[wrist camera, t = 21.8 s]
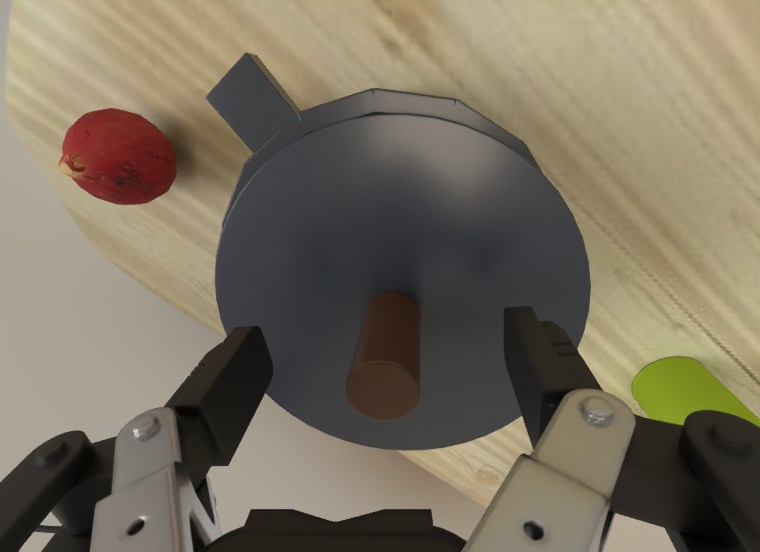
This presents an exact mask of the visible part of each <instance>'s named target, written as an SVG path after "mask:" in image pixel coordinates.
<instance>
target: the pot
mask: <svg viewBox="0 0 760 552" xmlns="http://www.w3.org/2000/svg"><path fill="white" fill-rule="evenodd" d="M206 99H207V100H208V101H209V102H210V104H211V105H212V106H213V107H214V108H215V109H216V111H217V112H218V113H219V114H220V115H221V116H222V117H223V119H224V120H225V121H226V122H227V123H228V124H229V125H230V127H231V128H232V129H233V130H234V131H235V132H236V134H237V135H238V136H239V137H240V138H241V139H242V140H243V142H244V143H245V144H246V145H247V146H248V147H249V148H250V150H251V151H252V152H253V153H254V154H253V155H252V156H251V157H250V158H249V159H248V160H247V161H246V163H244V165H243V168H242V170H241V173H240V176H239V179H238V181H237V184H236V187H235V189H234V192H233V195H232V198H231V200H230V203H229V206H228V208H227V211H226V214H225V217H224V219H223V222H222V230H223V227H224V224H225V222H226V219H227V216H228V214H229V212H230V210H231V208H232V206H233V204H234V203H235V201H236V199H237V197H238V195H239V194H240V192H241V191H242V189H243V188H244V187H245V186H246V184H247V183H248V182H249V180H250V179H251V178H252V176H253V175H254V174H255V173H256V172H257V171H258V170H259V169H260V168H261V167H262V166H263V165H264V164H265V163H266V162H267V161H268V160H269V159H270V158H271V157H272V156H274V155H275V154H276V153H278V152H279V151H281V150H282V149H283V148H285V147H286V146H288V145H289V144H291V143H292V142H293V141H295V140H297V139H299V138H301V137H303V136H305V135H307V134H309V133H311V132H313V131H315V130H317V129H319V128H321V127H324V126H327V125H330V124H333V123H336V122H339V121H342V120H345V119H349V118H355V117H361V116H367V115H373V114H390V113H410V114H418V115H427V116H435V117H440V118H443V119H447V120H451V121H455V122H458V123H462V124H466V125H468V126H470V127H473V128H475V129H477V130H480V131H482V132H484V133H487V134H489V135H491V136H493V137H495V138H497V139H498V140H500V141H502V142H503V143H505V144H506V145H508V146H510V147H511V148H513V149H515V150H516V151H518V152H519V153H520V154H521V155H523V156H524V157H525V158H526V159H527V160H529V161H530V162H531V163H532V164H533V165H534V166H536V167H537V168H538V169H539V170H540V171H541V169H540V167H539V166H538V164H537V162H536V161H535V159H534V157H533V156H532V154H531V152H530V151H529V149H528V147H527V145H526V144H524V142H523V141H521V140H520V139H518V138H517V137H515V136H514V135H512V134H511V133H509V132H507V131H506V130H504V129H503V128H501V127H500V126H498V125H497V124H495V123H494V122H492V121H490V120H489V119H487V118H486V117H484V116H483V115H481V114H480V113H478V112H477V111H475V110H474V109H472V108H470V107H469V106H467V105H466V104H464V103H463V102H461V101H460V100H458V99H455V98H448V97H440V96H433V95H425V94H417V93H410V92H402V91H395V90H387V89H380V88H374V89H373V88H371V89H368V90H365V91H362V92H359V93H356V94H352V95H349V96H346V97H343V98H340V99H337V100H334V101H331V102H328V103H324V104H321V105H318V106H315V107H312V108H309V109H306V110H303V111H300V109H299V108H298V107H297V106H296V104H295V103H294V102H293V100H292V99H291V98H290V97H289V95H288V94H287V93H286V92H285V90H284V89H283V88H282V87H281V85H280V84H279V83H278V81H277V80H276V79H275V78H274V76H273V75H272V74H271V73H270V71H269V70H268V69H267V68H266V66H265V65H264V64H263V62H262V61H261V60H260V59H259V57H258V56H257V55H254V54H250V53H245V54H244V55H243V56H242V57H241V58H240V59H239V60H238V62H237V63H236V64H235V65H234V66H233V67H232V68H231V69H230V70H229V72H228V73H227V74H226V75H225V76H224V77H223V78H222V79H221V80H220V82H219V83H218V84H217V85H216V86H215V87H214V88H213V89H212V90H211V91H210V93H209V94H208V95H207V96H206ZM541 172H542V171H541ZM542 173H543V172H542Z"/></svg>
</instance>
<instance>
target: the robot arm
mask: <svg viewBox="0 0 760 552" xmlns="http://www.w3.org/2000/svg"><path fill="white" fill-rule="evenodd" d="M504 358H505V364H506V368H507V371H508V374H509V377H510V380H511V383H512V387H513V390H514V393H515V396H516V399H517V402H518V405H519V408H520V411H521V414H522V417H523V420H524V423H525V426H526V429H527V432H528V435H529V438H530V441H531V444H532V447H533V452H532V453H531V455H530V456H528V455H526V454H521V455H520V456H519V457H518V459H517V460H516V461H515V463H514V465H513V466H512V468H511V470H510V471H509V473H508V475H507V476H506V478H505V480H504V481H503V483H502V485H501V486H500V488H499V490H498V491H497V493H496V495H495V496H494V498H493V500H492V501H491V503H490V505H489V506H488V508H487V510H486V511H485V513H484V515H483V516H482V518H481V520H480V522H479V523H478V525H477V526H476V528H475V530H474V531H473V533H472V535H471V536H470V538H469V540H468V541H466V540H464V539H462V538H461V537H459V536H458V535H456V534H454V533H452V532H450V531H447V530H445V529H443V528H440V527H436V526H433V520H432V513H431V509H384V510H380V511H377V512H373V513H369V514H365V515H361V516H358V517H354V518H350V519H346V520H343V521H338V522H333V521H329V520H326V519H322V518H319V517H316V516H313V515H309V514H306V513H303V512H299V511H297V510H293V509H251V510H250V513H249V515H248V518H247V520H246V523H245V525H244V526H243V527H240V528H238V529H235V530H233V531H230V532H228V533H226V534H224V535H222V534H221V530H220V525H219V520H218V515H217V511H216V506H215V501H214V496H213V492H212V487H211V482H210V479H209V477H208V475H207V473H208V471H209V469H210V467H211V466H228V465H229V463H230V461H231V459H232V457H233V455H234V454H235V452H236V449H237V448H238V445H239V444H240V442H241V440H242V438H243V435H244V434H245V432H246V430H247V428H248V426H249V424H250V422H251V420H252V418H253V416H254V414H255V412H256V410H257V408H258V406H259V404H260V402H261V400H262V398H263V396H264V394H265V392H266V390H267V388H268V386H269V384H270V382H271V380H272V377H273V362H272V359H271V356H270V353H269V350H268V347H267V344H266V341H265V338H264V336H263V333H262V330H261V328H260V327H259V326H247V327H236V328H234V329H233V330H232V331H231V332H230V334H229V335H228V336H227V337H226V339H225V340H224V342H223V343H220V344H219V345H217V346H216V347H215V348H213V349H212V350H211V351H209V352H208V353H207V354H206V355H205V356H204V357H203V359H202V360H201V361H200V362H199V364H198V366H196V367H195V369H194V370H193V371H192V372H191V376H188V377H187V378H186V380H185V381H184V382H183V383H182V385H181V386H180V387H179V389H178V390H177V391H176V392H175V393H174V395H173V396H172V397H171V398H170V400H169V401H168V402H167V403H166V404H165V406H164V407H159V408H154V409H151V410H148V411H146V412H144V413H142V414H140V415H138V416H137V417H135V418H134V419H132V420H131V421H130V422H128V423H127V424H126V425H125V426H124V427H123V428H122V429H121V431H120V432H119V434H118V435H117V436H116V437H113V438H109V439H106V440H102V441H99V442H95V443H91V442H90V440H89V439H88V437H87V436H86V434H85V433H84V432H82V431H70V432H66V433H63V434H60V435H58V436H56V437H54V438H52V439H50V440H48V441H46V442H45V443H43V444H42V445H40V446H39V447H37V448H36V449H35V450H33V451H32V452H31V453H30V454H29V455H28V456H27V457H26V458H25V459H24V460H23V461H22V462H21V463H20V464H19V465H18V466H17V467H16V468H15V469H13V471H12V472H10V474H8V475H7V476H6V477H5V478H4V479H3V480H2V482H0V552H19V550H20V548H21V547H22V546H23V544H24V543H25V542H26V541H27V539H28V538H29V537H30V536H31V534H32V533H33V532H34V531H35V532H45V533H55V535H54V536H53V537H52V538H51V540H50V541H49V542H48V544H47V545H46V546H45V547H44V549H43V550H42V552H603V551H604V548H605V545H606V542H607V539H608V536H609V532H610V529H611V526H612V523H613V520H614V517H615V514H616V513H618V514H620V515H624V516H628V517H631V518H634V519H637V520H641V521H644V522H647V523H651V524H654V525H658V526H661V527H664V528H665V530H666V531H667V533H668V535H669V537H670V539H671V541H672V543H673V545H674V547H675V549H676V551H677V552H760V427H758V426H757V425H755V424H753V423H751V422H749V421H748V420H745V419H743V418H741V417H738V416H735V415H732V414H729V413H725V412H721V411H715V410H700V411H695V412H693V413H690V414H689V415H688V416H687V417H686V418H685V421H684V424H683V425H679V424H673V423H668V422H663V421H658V420H653V419H648V418H644V417H641V416H638V415H635V414H634V413H633V412H632V410H631V409H630V408H629V407H628V405H627V404H625V403H624V402H623V401H622V400H620V399H619V398H617V397H615V396H614V395H612V394H609V393H607V392H604V391H603V390H602V388H601V387H600V385H599V383H598V382H597V380H596V379H595V377H594V376H593V374H592V372H591V371H590V369H589V368H588V366H587V365H586V363H585V361H584V360H583V358H582V357H581V355H579V352H578V350H577V349H576V347H575V346H574V345H573V344H572V341H571V339H570V338H569V336H568V335H567V333H566V331H565V330H564V329H562V328H561V327H559V326H558V325H556V324H555V323H554V322H552V321H541V322H539V320H538V318H537V316H536V314H535V312H534V311H533V309H532V307H531V306H521V307H507V308H505V309H504ZM50 511H51V512H52V513H53V515H54V516H55V517H56V518H57V519H58V520H59V521H60V523H61V524H62V526H44V525H40V523H41V522H42V521H43V520H44V519H45V518H46V516H47V515H48V514H49V513H50Z"/></svg>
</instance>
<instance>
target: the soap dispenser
mask: <svg viewBox="0 0 760 552" xmlns="http://www.w3.org/2000/svg"><path fill="white" fill-rule="evenodd" d="M632 393H633V396H634V397H635V399H636V400H637V402H638V403H639V405H640V406H641V407H642V409H643V410H644V411H645V413H646V414H647V416H648V417H649V418H650V419H653V420H658V421H663V422H668V423H673V424H679V425H683V424H684V421H685V418H686V417H687V416H688V415H689V414H690V413H693V412H695V411H700V410H715V411H721V412H725V413H729V414H732V415H735V416H738V417H741V418H743V419H745V420H748V421H749V422H751V423H753V424H755V425H757V426H758V427H760V419H759V418H758V417H757V416H756V415H755V414H754V413H753V412H751V411H750V410H749V409H748V408H747V407H746V406H745V405H744V404H743V403H742V402H741V401H740V400H739V399H738V398H737V397H736V396H734V395H733V394H732V393H731V392H730V391H729V390H728V389H727V388H726V387H725V386H724V385H723V384H722V383H721V382H720V381H719V380H717V379H716V378H715V377H714V376H713V375H712V374H711V373H710V372H709V371H708V370H707V369H706V368H705V367H704V366H703V365H701V364H700V363H699V362H697V361H695V360H693V359H690V358H686V357H670V358H665V359H661V360H658V361H656V362H654V363H652V364H650V365H648V366H647V367H645V368H644V369H643V370H642V371H640V372H639V374H638V375H637V376H636V378H635V379H634V382H633V385H632Z"/></svg>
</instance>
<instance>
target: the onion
mask: <svg viewBox="0 0 760 552" xmlns="http://www.w3.org/2000/svg"><path fill="white" fill-rule="evenodd" d="M62 150H63V156H62V157H61V159H60V161H59V163H58V165H59V167H60V168H61V170H62V173H63V174H65V175H68V176H70V177H72V178H73V180H74V181H75V182H76V183H77V184H78V185H79V186H80V187H81V188H82V189H84V190H85V191H87V192H88V193H89V194H91V195H93V196H94V197H96V198H99V199H102V200H105V201H108V202H111V203H114V204H120V205H135V204H143V203H148V202H150V201H152V200H154V199H155V198H157V197H159V196H161V195H162V194H164V193H165V192H167V191H168V190H169V189H170V187H171V185H172V183H173V181H174V179H175V177H176V173H177V166H176V156H175V153H174V151H173V149H172V147H171V145H170V142H169V141H168V140H167V139H166V137H165V136H164V135H163V134H162V132H161V131H160V130H159V129H158V128H157V127H156V126H155V125H153V124H152V123H151V122H149V121H148V120H146V119H145V118H143V117H142V116H140V115H138V114H134V113H131V112H127V111H124V110H119V109H113V108H109V109H103V110H97V111H93V112H89V113H86V114H84V115H83V116H82V117H81V118H79V119H78V120H77V121H76V122H75V123H74V124H73V125H72V126H71V127H70V128H69V129H68V131H67V133H66V136H65V139H64V142H63V146H62Z"/></svg>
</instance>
